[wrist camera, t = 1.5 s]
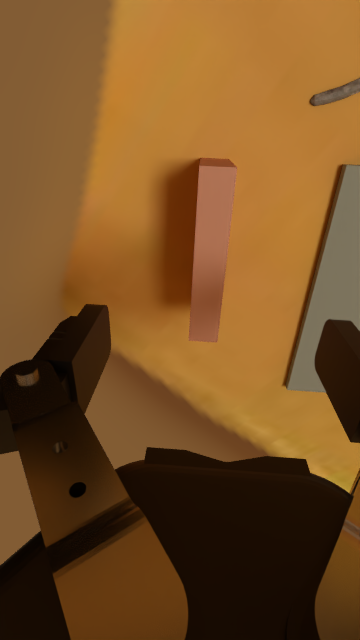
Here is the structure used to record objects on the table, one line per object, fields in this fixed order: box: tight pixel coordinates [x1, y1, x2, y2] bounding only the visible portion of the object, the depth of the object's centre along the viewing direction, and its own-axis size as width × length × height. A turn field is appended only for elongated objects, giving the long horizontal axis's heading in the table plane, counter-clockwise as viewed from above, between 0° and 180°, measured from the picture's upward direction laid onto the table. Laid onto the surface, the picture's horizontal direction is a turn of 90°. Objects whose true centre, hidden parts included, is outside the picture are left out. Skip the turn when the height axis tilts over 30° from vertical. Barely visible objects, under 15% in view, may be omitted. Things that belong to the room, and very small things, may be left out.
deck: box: [189, 158, 237, 342], centre depth 21 cm, size 10×2×6 cm, turn 178°
